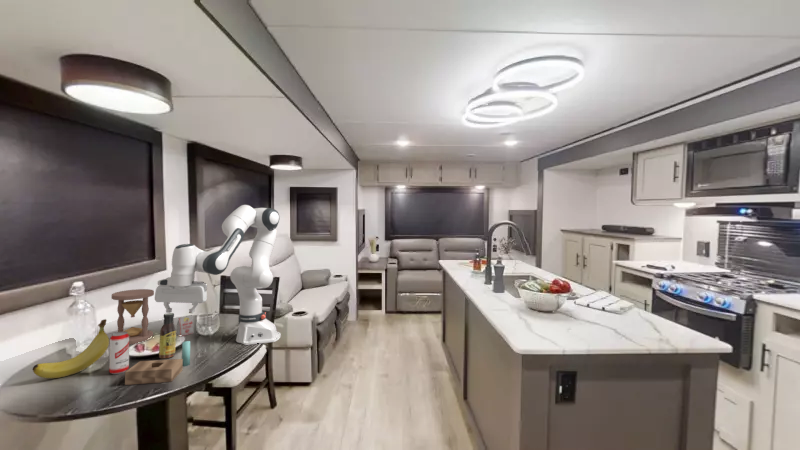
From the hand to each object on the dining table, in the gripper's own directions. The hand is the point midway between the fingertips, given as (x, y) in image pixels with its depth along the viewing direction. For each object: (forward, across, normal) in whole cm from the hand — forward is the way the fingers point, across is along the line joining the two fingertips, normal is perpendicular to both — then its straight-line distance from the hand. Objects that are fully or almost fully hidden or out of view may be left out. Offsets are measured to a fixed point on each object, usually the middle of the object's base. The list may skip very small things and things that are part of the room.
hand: (180, 312), depth 145 cm
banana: (+25, +38, +5) cm, 45 cm away
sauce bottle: (+23, +10, -12) cm, 28 cm away
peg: (+23, -3, -2) cm, 23 cm away
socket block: (+24, +3, +10) cm, 26 cm away
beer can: (+24, +21, +4) cm, 32 cm away
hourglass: (+23, +41, -35) cm, 59 cm away
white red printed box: (+22, +19, -43) cm, 52 cm away
